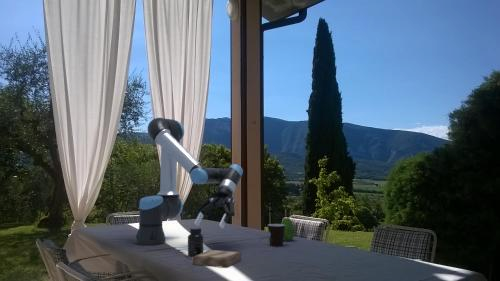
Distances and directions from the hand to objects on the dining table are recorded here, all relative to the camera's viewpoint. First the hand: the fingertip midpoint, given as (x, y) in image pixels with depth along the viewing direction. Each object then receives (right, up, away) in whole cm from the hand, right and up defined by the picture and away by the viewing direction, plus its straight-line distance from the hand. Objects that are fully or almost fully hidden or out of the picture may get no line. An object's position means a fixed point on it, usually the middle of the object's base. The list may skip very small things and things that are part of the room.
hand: (208, 226), depth 198 cm
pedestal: (+6, -11, -19) cm, 22 cm away
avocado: (+39, -15, +34) cm, 54 cm away
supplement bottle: (-5, -12, -7) cm, 15 cm away
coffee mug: (+33, -14, +22) cm, 41 cm away
